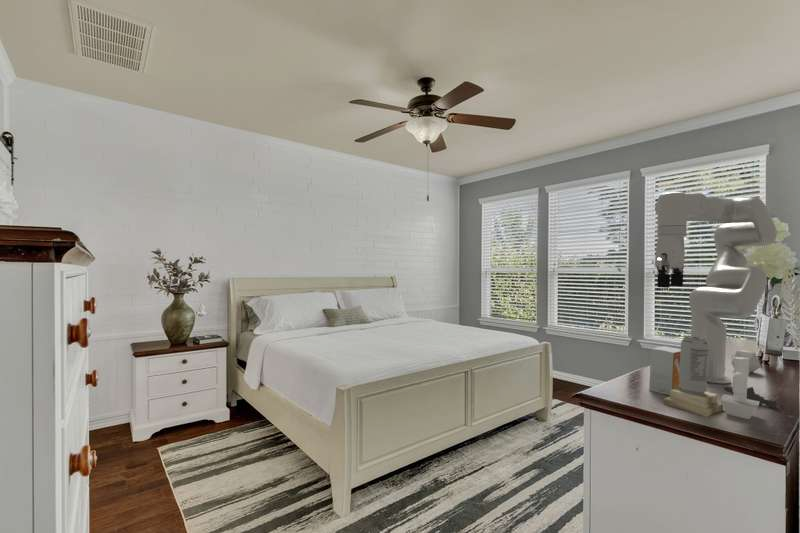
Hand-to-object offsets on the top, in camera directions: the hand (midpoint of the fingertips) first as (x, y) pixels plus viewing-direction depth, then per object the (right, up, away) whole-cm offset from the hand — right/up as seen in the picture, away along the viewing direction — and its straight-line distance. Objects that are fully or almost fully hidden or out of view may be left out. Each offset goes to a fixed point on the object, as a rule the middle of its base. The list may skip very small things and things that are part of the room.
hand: (670, 286), depth 123 cm
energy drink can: (-5, -28, -16) cm, 33 cm away
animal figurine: (+15, -33, -11) cm, 38 cm away
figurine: (+3, -33, -21) cm, 39 cm away
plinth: (-5, -32, -16) cm, 36 cm away
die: (+44, -33, +23) cm, 59 cm away
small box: (-4, -32, -4) cm, 33 cm away
